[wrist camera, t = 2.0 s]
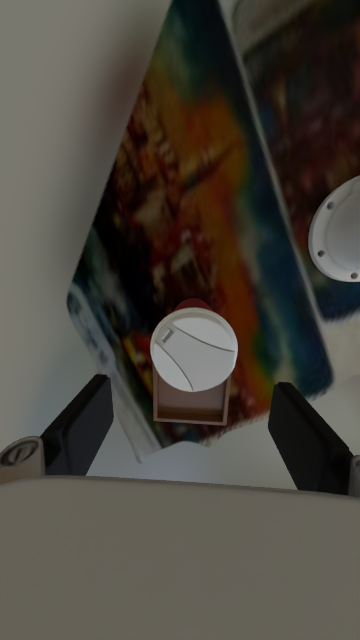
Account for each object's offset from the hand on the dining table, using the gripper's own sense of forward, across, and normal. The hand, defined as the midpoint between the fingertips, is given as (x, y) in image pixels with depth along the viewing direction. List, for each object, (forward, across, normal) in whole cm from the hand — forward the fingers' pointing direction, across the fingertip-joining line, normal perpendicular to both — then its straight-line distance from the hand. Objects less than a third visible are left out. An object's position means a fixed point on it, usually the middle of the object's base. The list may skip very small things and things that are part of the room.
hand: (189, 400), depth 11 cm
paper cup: (+19, 0, 0) cm, 19 cm away
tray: (+19, 0, +12) cm, 22 cm away
